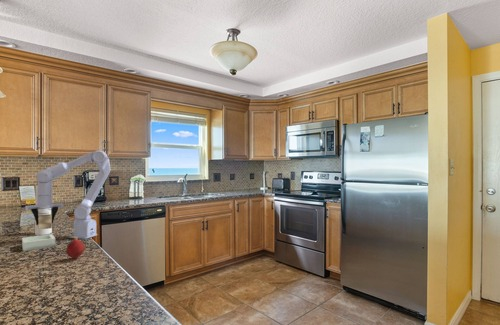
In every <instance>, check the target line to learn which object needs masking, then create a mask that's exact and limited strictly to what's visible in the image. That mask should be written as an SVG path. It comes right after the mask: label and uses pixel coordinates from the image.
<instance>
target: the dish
mask: <svg viewBox="0 0 500 325" xmlns="http://www.w3.org/2000/svg"><path fill="white" fill-rule="evenodd" d="M53 247H56V237H55V236H54V234H53V233H50V234H45V235H34V236H27V237H26V236H25V237H21V248H22V252H27V251H34V250H42V249H48V248H53Z"/></svg>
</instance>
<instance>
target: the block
mask: <svg viewBox="0 0 500 325" xmlns="http://www.w3.org/2000/svg"><path fill="white" fill-rule="evenodd" d="M48 228H52V229H53V223H52V215H51V214H48V215H38V230H40V229H48Z"/></svg>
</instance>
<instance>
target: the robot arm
mask: <svg viewBox="0 0 500 325" xmlns="http://www.w3.org/2000/svg"><path fill="white" fill-rule="evenodd" d="M85 163H95V164H96V165H97V168H98V170H99V171H98V173H97V175H96V177H95V178H94V180H93V182H92V184H91V185H90V188H88V191H87V192H86V194H85V196H84V198H83V200H82V201H81V202H80V204H79V205H78V207H76V208H74V211H73V216H74V217H73V218H74V220H73V235H72V236H69V238H70V239H75V238H76V237H77V238H78V239H80V240H81V239H82V240H83V239H84V240H86V239H89V238H92V237H93V238H94V237H95V236H98V233H97V221H96V220H95V219H92V216H91V215H90V214H91V212H92V207H93V204H94V202H95V201H96V198H97V197H98V196H99V193H100V192H101V189H102V187H104V184H105V182H106V180H107V179H108V176H109V175H110V173H111V163H110V158H109V156H108V154H107V153H106V152H105V151H103V150H99V149H98V150H94V151H91V152H87V153H85V154H83V155H81V156H79V157H78V158H77V157H76V158H75V159H72V160H70V161H69V162H57V163H56V164H55V165H53V166H50V167H49V166H48V167H46V168H45V169H42V170H40V171H38V173H36V176H35V178H36V180H37V186H38V204H37V205H35V204H31V205H25V211H31V213H32V215H33V217H34V220H36V225H38V209H46V208H51V215H52V224H54V220H55V217H56V214H57V213H58V210H59V209H60V208H64V203H63V202H60V203H57V202H56V203H53V187H52V186H53V180H55V179H58V178H59V177H62V176H64V175H67V174H69V172H70V171H71V169H73V168H76V167H78V166H81V165H83V164H85ZM40 207H44V208H40Z"/></svg>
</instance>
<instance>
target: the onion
mask: <svg viewBox="0 0 500 325" xmlns="http://www.w3.org/2000/svg"><path fill="white" fill-rule="evenodd" d="M85 248H86V247H85V244H84V242H82V241H81V239H80V240H79V238H77V237H76V238H73V239H72V240H71V241H70V242H69V243H68V245H67V247H66V251H65V252H66V254H67V256H68V257H69V258H72V259H74V260H77V259H78V258H79V257H81V255H82V254H83V253H84V252H85Z"/></svg>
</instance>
